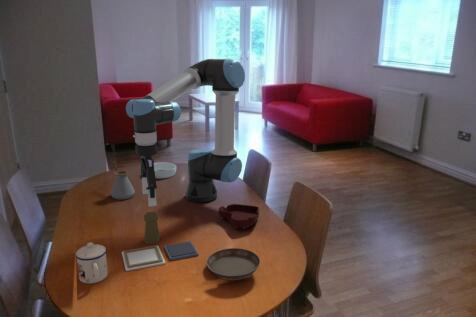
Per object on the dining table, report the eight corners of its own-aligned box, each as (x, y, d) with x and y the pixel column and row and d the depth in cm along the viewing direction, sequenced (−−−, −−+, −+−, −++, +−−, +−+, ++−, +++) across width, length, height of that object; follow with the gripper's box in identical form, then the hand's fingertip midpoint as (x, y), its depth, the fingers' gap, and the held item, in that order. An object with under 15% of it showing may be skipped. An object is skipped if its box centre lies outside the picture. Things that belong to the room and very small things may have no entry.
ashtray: (270, 224, 170) (270, 213, 168) (236, 233, 162) (236, 221, 160) (247, 210, 185) (247, 199, 183) (215, 217, 177) (215, 207, 175)
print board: (158, 246, 150) (158, 244, 150) (165, 263, 139) (165, 260, 138) (121, 253, 146) (121, 250, 146) (125, 271, 134) (125, 268, 134)
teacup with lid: (76, 273, 133) (72, 240, 130) (105, 266, 137) (102, 234, 134) (82, 292, 123) (78, 257, 120) (113, 284, 127) (110, 250, 124)
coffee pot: (138, 199, 197) (136, 169, 193) (113, 204, 192) (111, 173, 188) (126, 186, 215) (124, 159, 211) (104, 190, 210) (101, 162, 206)
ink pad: (191, 243, 153) (191, 240, 153) (198, 255, 144) (198, 252, 144) (164, 247, 150) (164, 244, 149) (170, 260, 141) (170, 257, 140)
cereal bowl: (150, 185, 218) (149, 172, 216) (142, 176, 232) (141, 164, 230) (181, 180, 225) (180, 168, 224) (171, 172, 240) (170, 160, 238)
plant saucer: (218, 288, 125) (217, 280, 124) (199, 261, 141) (199, 253, 140) (269, 276, 132) (269, 267, 131) (246, 251, 147) (246, 244, 147)
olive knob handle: (156, 244, 152) (155, 216, 150) (141, 242, 154) (139, 215, 151) (162, 237, 158) (161, 210, 155) (148, 235, 159) (146, 209, 156)
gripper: (130, 137, 156) (134, 190, 161) (140, 152, 133) (144, 213, 139) (150, 135, 159) (153, 187, 164) (163, 150, 136) (166, 209, 142)
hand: (149, 199), depth 152 cm, fingers open, 13 cm apart
